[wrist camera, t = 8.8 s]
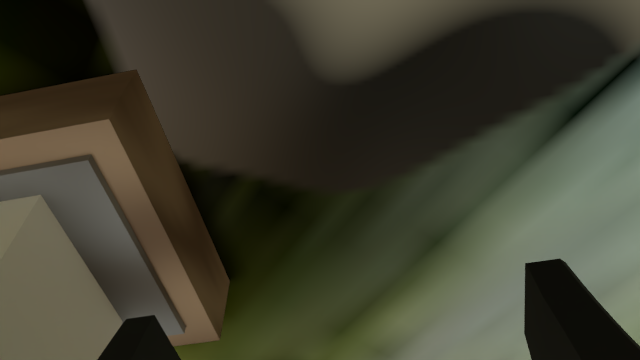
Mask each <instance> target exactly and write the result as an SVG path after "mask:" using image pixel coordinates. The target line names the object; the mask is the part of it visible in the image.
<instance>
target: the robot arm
mask: <svg viewBox="0 0 640 360" xmlns="http://www.w3.org/2000/svg"><path fill="white" fill-rule="evenodd" d="M524 333H525V337H526V340H527V344H528V348H529V351H530V355H531V359H532V360H640V346H639V345H638V344H637V343H636V342H635V341H634V340H633V339H632V338H631V337H630V336H629V335H628V334H627V333H626V332H625V331H624V330H623V329H622V328H621V326H620V325H619V324H618V323H617V322H616V321H615V320H614V319H613V318H612V317H611V316H610V314H609V313H608V312H607V311H606V310H605V309H604V308H603V307H602V305H601V304H600V303H599V302H598V301H597V300H596V299H595V298H594V296H593V295H592V294H591V293H590V292H589V291H588V289H587V288H586V287H585V286H584V285H583V283H582V282H581V281H580V280H579V279H578V277H577V276H576V275H575V274H574V272H573V271H572V270H571V269H570V267H569V266H568V265H567V264H566V262H564V261H563V260H561V259H554V260H547V261H540V262H532V263H525V330H524ZM97 360H181V359H180V357H179V356H178V354H177V352H176V351H175V349H174V347H173V345H172V344H171V342H170V340H169V339H168V337H167V335H166V334H165V332H164V330H163V328H162V327H161V325H160V323H159V322H158V320H157V318H156V316H155V315H150V316H143V317H136V318H129V319H126V320H125V321H124V322H123V324H122V325H121V327H120V328H119V329H118V331H117V332H116V334H115V335H114V336H113V338H112V339H111V341H110V342H109V343H108V345H107V346H106V348H105V349H104V351H103V352H102V353H101V355H100V356H99V358H98V359H97Z"/></svg>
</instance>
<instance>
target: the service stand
mask: <svg viewBox="0 0 640 360" xmlns="http://www.w3.org/2000/svg"><path fill="white" fill-rule="evenodd" d="M36 195H41V196H42V197H43V199H44V201H45V202H46V204H47V205H48V207H49V208H50V210H51V211H52V213H53V214H54V216H55V218H56V219H57V221H58V222H59V224H60V225H61V227H62V228H63V230H64V232H65V233H66V235H67V236H68V238H69V239H70V241H71V242H72V244H73V245H74V247H75V249H76V250H77V252H78V253H79V255H80V256H81V258H82V259H83V261H84V262H85V264H86V266H87V267H88V269H89V270H90V272H91V273H92V275H93V276H94V278H95V280H96V281H97V283H98V284H99V286H100V287H101V289H102V290H103V292H104V293H105V295H106V297H107V298H108V300H109V301H110V303H111V304H112V306H113V307H114V309H115V310H116V312H117V314H118V315H119V317H120V318H121V320H122V321H123V322H124V321H125V320H126V319H129V318H136V317H143V316H150V315H155V316H156V318H157V320H158V322H159V323H160V325H161V327H162V328H163V330H164V332H165V334H166V335H167V337H168V339H169V340H170V342H171V344H172V345H173V346H179V345H187V344H194V343H202V342H209V341H217V340H220V336H221V330H222V324H223V318H224V312H225V306H226V300H227V294H228V288H229V282H230V280H229V278H228V276H227V274H226V271H225V269H224V267H223V265H222V262H221V260H220V258H219V256H218V253H217V251H216V249H215V246H214V244H213V242H212V240H211V237H210V235H209V233H208V231H207V228H206V226H205V224H204V222H203V219H202V217H201V215H200V212H199V210H198V208H197V206H196V203H195V201H194V199H193V197H192V194H191V192H190V190H189V187H188V185H187V183H186V181H185V178H184V176H183V174H182V172H181V169H180V167H179V165H178V163H177V160H176V158H175V156H174V153H173V151H172V149H171V147H170V144H169V142H168V140H167V138H166V135H165V133H164V131H163V129H162V126H161V124H160V122H159V120H158V117H157V115H156V113H155V110H154V108H153V106H152V104H151V101H150V99H149V97H148V94H147V92H146V90H145V88H144V85H143V83H142V81H141V79H140V76H139V74H138V72H137V70H131V71H126V72H121V73H116V74H111V75H106V76H101V77H95V78H90V79H85V80H80V81H75V82H70V83H65V84H60V85H55V86H49V87H44V88H39V89H34V90H29V91H24V92H19V93H14V94H9V95H4V96H0V202H1V201H7V200H13V199H18V198H24V197H30V196H36ZM123 322H122V324H123Z"/></svg>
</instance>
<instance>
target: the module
mask: <svg viewBox="0 0 640 360" xmlns="http://www.w3.org/2000/svg"><path fill="white" fill-rule="evenodd" d="M122 322H123V321H122V320H121V318H120V317H119V315H118V314H117V312H116V310H115V309H114V307H113V306H112V304H111V303H110V301H109V300H108V298H107V297H106V295H105V293H104V292H103V290H102V289H101V287H100V286H99V284H98V283H97V281H96V280H95V278H94V276H93V275H92V273H91V272H90V270H89V269H88V267H87V266H86V264H85V262H84V261H83V259H82V258H81V256H80V255H79V253H78V252H77V250H76V249H75V247H74V245H73V244H72V242H71V241H70V239H69V238H68V236H67V235H66V233H65V232H64V230H63V228H62V227H61V225H60V224H59V222H58V221H57V219H56V218H55V216H54V214H53V213H52V211H51V210H50V208H49V207H48V205H47V204H46V202H45V201H44V199H43V197H42V196H41V195H36V196H30V197H24V198H18V199H13V200H7V201H1V202H0V360H97V359H98V358H99V356H100V355H101V353H102V352H103V351H104V349H105V348H106V346H107V345H108V343H109V342H110V341H111V339H112V338H113V336H114V335H115V334H116V332H117V331H118V329H119V328H120V327H121V325H122Z"/></svg>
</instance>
